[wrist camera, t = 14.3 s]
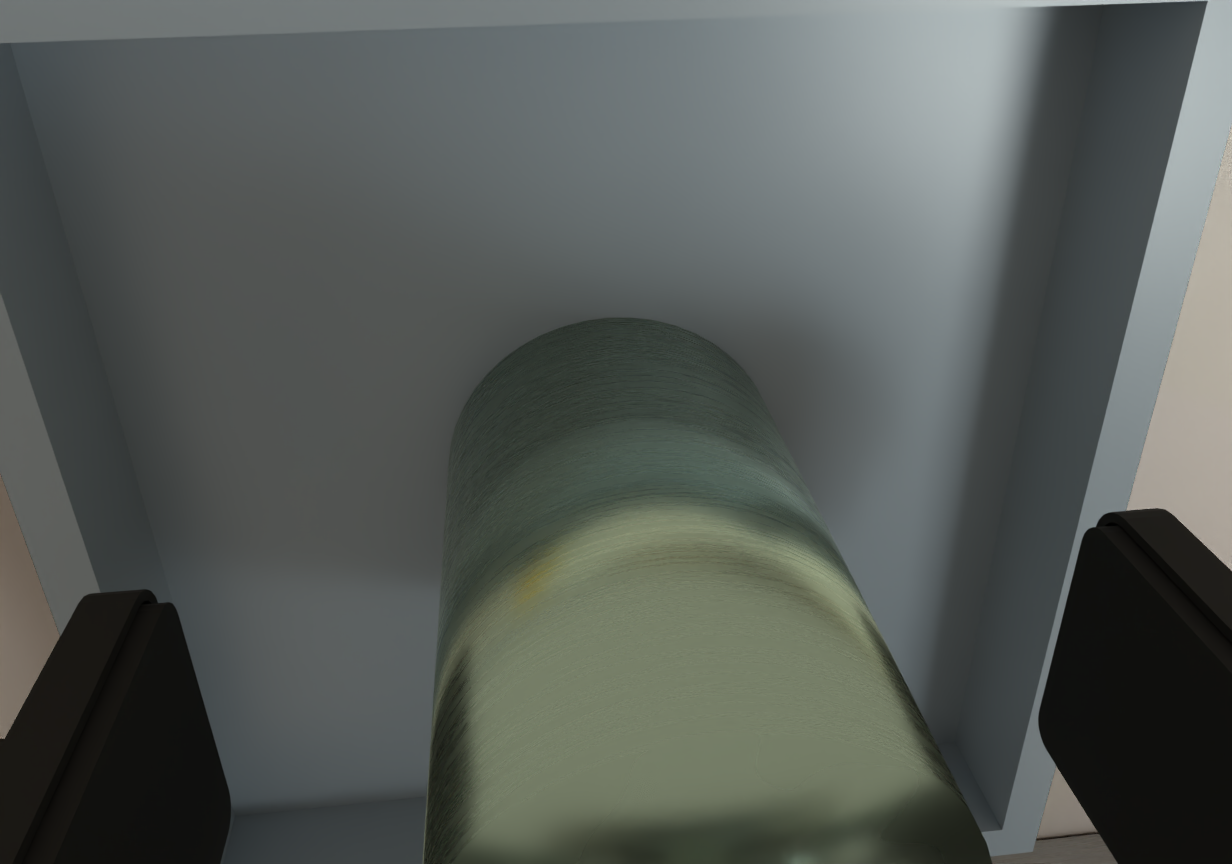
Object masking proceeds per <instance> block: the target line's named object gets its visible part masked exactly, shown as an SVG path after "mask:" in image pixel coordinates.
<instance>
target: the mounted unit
mask: <svg viewBox="0 0 1232 864" xmlns="http://www.w3.org/2000/svg"><path fill="white" fill-rule="evenodd" d="M991 860H992V864H1118V863H1117V862H1116V860H1115V859H1114V857H1113V855H1112V854H1111V852H1110V851H1109V849H1108V847H1107V846H1106V844H1105V843H1104V841H1103V839H1102V838H1101V836H1100V835H1099V834H1091V835H1082V836H1074V837H1065V838H1056V839H1047V840H1038V841H1035V845H1034V849H1033V852H1026V853H1018V854H1009V855H1000V856H991Z"/></svg>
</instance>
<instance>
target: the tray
mask: <svg viewBox="0 0 1232 864" xmlns="http://www.w3.org/2000/svg"><path fill="white" fill-rule="evenodd" d="M1231 125H1232V0H0V474H1V477H2V479H3V482H4V485H5V487H6V490H7V493H8V496H9V498H10V501H11V504H12V507H13V509H14V512H15V515H16V517H17V520H18V523H19V526H20V528H21V531H22V534H23V536H24V539H25V542H26V545H27V547H28V550H29V553H30V555H31V558H32V561H33V564H34V566H35V569H36V572H37V575H38V577H39V580H40V583H41V585H42V588H43V591H44V594H45V596H46V599H47V602H48V604H49V607H50V610H51V613H52V615H53V618H54V621H55V624H56V626H57V629H58V632H59V634H60V636H61V634H62V633H63V631H64V629H65V627H66V625H67V623H68V622H69V620H70V618H71V616H72V614H73V612H74V611H75V609H76V607H77V605H78V603H79V602H80V601H81V599H82V598H83V597H84V596H86V595H88V594H91V593H104V592H116V591H129V590H141V589H147V590H150V591H152V592H153V594H154V595H155V596H156V598H157V601H158V603H165V602H170V603H173V605H174V606H175V607H176V610H177V612H178V615H179V618H180V622H181V625H182V629H183V632H184V636H185V639H186V643H187V646H188V650H189V653H190V656H191V660H192V663H193V667H194V670H195V674H196V677H197V681H198V684H199V688H200V691H201V695H202V698H203V702H204V705H205V709H206V712H207V715H208V719H209V722H210V726H211V729H212V733H213V736H214V740H215V743H216V747H217V750H218V754H219V757H220V761H221V764H222V767H223V771H224V774H225V778H226V781H227V785H228V788H229V793H230V799H231V820H230V827H229V832H228V836H227V840H226V844H225V848H224V851H223V855H222V859H221V863H220V864H423V850H424V835H425V819H426V804H427V788H428V772H429V757H430V741H431V726H432V710H433V695H434V679H435V664H436V648H437V633H438V617H439V602H440V586H441V571H442V555H443V540H444V524H445V508H446V493H447V477H448V463H449V453H450V444H451V440H452V437H453V433H454V429H455V426H456V423H457V421H458V419H459V416H460V414H461V411H462V409H463V407H464V405H465V404H466V402H467V401H468V399H469V397H470V396H471V394H472V392H473V391H474V389H475V388H476V387H477V386H478V384H479V383H480V382H481V381H482V380H483V378H484V377H485V376H486V375H487V374H488V373H489V372H490V371H491V370H492V369H493V368H494V367H495V366H496V365H497V364H498V363H499V362H500V361H501V360H502V359H504V358H505V357H506V356H508V355H509V354H511V353H512V352H513V351H515V350H516V349H518V348H519V347H520V346H522V345H524V344H526V343H527V342H529V341H531V340H533V339H535V338H537V337H539V336H540V335H543V334H545V333H548V332H550V331H553V330H555V329H558V328H561V327H563V326H567V325H571V324H575V323H579V322H583V321H588V320H595V319H603V318H639V319H648V320H655V321H659V322H663V323H667V324H671V325H675V326H678V327H681V328H683V329H686V330H688V331H691V332H693V333H696V334H698V335H699V336H701V337H703V338H705V339H707V340H709V341H710V342H712V343H714V344H715V345H717V346H718V347H719V348H721V349H722V350H723V351H725V352H726V353H727V354H729V355H730V356H731V357H732V358H733V359H734V360H735V361H736V362H737V363H738V364H739V365H740V366H741V367H742V368H743V369H744V370H745V372H746V373H747V374H748V376H749V377H750V378H751V380H752V381H753V382H754V384H755V385H756V387H757V389H758V391H759V393H760V395H761V396H762V398H763V400H764V402H765V404H766V406H767V408H768V410H769V412H770V414H771V416H772V418H773V420H774V422H775V424H776V426H777V428H778V430H779V432H780V434H781V436H782V438H783V440H784V442H785V444H786V446H787V448H788V450H789V452H790V454H791V456H792V458H793V460H794V462H795V464H796V466H797V468H798V470H799V472H800V474H801V476H802V478H803V480H804V482H805V484H806V486H807V488H808V490H809V491H810V493H811V495H812V497H813V499H814V501H815V503H816V505H817V507H818V509H819V511H820V513H821V515H822V517H823V519H824V521H825V523H826V525H827V527H828V529H829V531H830V533H831V535H832V537H833V539H834V541H835V543H836V545H837V547H838V549H839V551H840V553H841V555H842V557H843V559H844V561H845V563H846V565H847V567H848V569H849V571H850V573H851V575H852V577H853V579H854V581H855V583H856V585H857V587H858V589H859V591H860V593H861V595H862V597H863V599H864V601H865V603H866V605H867V607H868V609H869V611H870V612H871V614H872V616H873V618H874V620H875V622H876V624H877V626H878V628H879V630H880V632H881V634H882V636H883V638H884V640H885V642H886V644H887V646H888V648H889V650H890V652H891V654H892V656H893V658H894V660H895V662H896V664H897V666H898V668H899V670H900V672H901V674H902V676H903V678H904V680H905V682H906V684H907V686H908V688H909V690H910V692H911V694H912V696H913V698H914V700H915V702H916V704H917V706H918V708H919V710H920V712H921V714H922V716H923V718H924V720H925V722H926V724H927V726H928V728H929V730H930V732H931V734H932V735H933V737H934V739H935V741H936V743H937V745H938V747H939V749H940V751H941V753H942V755H943V757H944V759H945V761H946V763H947V765H948V767H949V769H950V771H951V773H952V775H953V777H954V779H955V781H956V783H957V785H958V787H959V789H960V791H961V793H962V795H963V797H964V799H965V801H966V803H967V805H968V807H969V809H970V811H971V813H972V815H973V817H974V819H975V821H976V823H977V825H978V827H979V829H980V831H981V833H982V835H983V837H984V839H985V841H986V843H987V846H988V850H989V853H990V857H991V856H1000V855H1009V854H1018V853H1026V852H1033V849H1034V845H1035V841H1036V838H1037V834H1038V830H1039V827H1040V823H1041V819H1042V816H1043V812H1044V808H1045V805H1046V801H1047V797H1048V794H1049V790H1050V786H1051V783H1052V779H1053V776H1054V772H1055V768H1056V764H1055V763H1054V761H1053V760H1052V758H1051V756H1050V755H1049V753H1048V752H1047V750H1046V748H1045V746H1044V744H1043V742H1042V739H1041V736H1040V731H1039V726H1038V715H1039V709H1040V705H1041V701H1042V697H1043V693H1044V689H1045V685H1046V681H1047V677H1048V673H1049V669H1050V665H1051V661H1052V657H1053V653H1054V649H1055V645H1056V641H1057V637H1058V633H1059V629H1060V625H1061V621H1062V617H1063V613H1064V609H1065V605H1066V601H1067V597H1068V593H1069V589H1070V585H1071V581H1072V577H1073V573H1074V569H1075V565H1076V561H1077V557H1078V553H1079V549H1080V545H1081V541H1082V538H1083V536H1084V533H1085V532H1086V531H1087V530H1088V529H1089V528H1092V527H1096V525H1097V523H1098V520H1099V519H1100V518H1101V517H1102V516H1103V515H1104V514H1106V513H1109V512H1118V511H1126V509H1127V505H1128V501H1129V498H1130V494H1131V490H1132V487H1133V483H1134V479H1135V476H1136V472H1137V468H1138V465H1139V461H1140V458H1141V454H1142V450H1143V447H1144V443H1145V439H1146V436H1147V432H1148V428H1149V425H1150V421H1151V417H1152V414H1153V410H1154V406H1155V403H1156V399H1157V395H1158V392H1159V388H1160V384H1161V381H1162V377H1163V373H1164V370H1165V366H1166V362H1167V359H1168V355H1169V352H1170V348H1171V344H1172V341H1173V337H1174V333H1175V330H1176V326H1177V322H1178V319H1179V315H1180V311H1181V308H1182V304H1183V300H1184V297H1185V293H1186V289H1187V286H1188V282H1189V278H1190V275H1191V271H1192V267H1193V264H1194V260H1195V256H1196V253H1197V249H1198V246H1199V242H1200V238H1201V235H1202V231H1203V227H1204V224H1205V220H1206V216H1207V213H1208V209H1209V205H1210V202H1211V198H1212V194H1213V191H1214V187H1215V183H1216V180H1217V176H1218V172H1219V169H1220V165H1221V161H1222V158H1223V154H1224V150H1225V147H1226V143H1227V140H1228V136H1229V132H1230V129H1231Z"/></svg>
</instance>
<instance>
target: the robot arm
mask: <svg viewBox="0 0 1232 864" xmlns="http://www.w3.org/2000/svg"><path fill="white" fill-rule="evenodd" d="M1038 726H1039V731H1040V736H1041V739H1042V742H1043V744H1044V746H1045V748H1046V750H1047V752H1048V753H1049V755H1050V756H1051V758H1052V760H1053V761H1054V763H1055V764H1056V766H1057V768H1058V769H1059V771H1060V772H1061V774H1062V776H1063V777H1064V779H1065V780H1066V782H1067V784H1068V785H1069V787H1070V788H1071V790H1072V792H1073V793H1074V795H1075V796H1076V798H1077V799H1078V801H1079V803H1080V804H1081V806H1082V807H1083V809H1084V811H1085V812H1086V814H1087V815H1088V817H1089V819H1090V820H1091V822H1092V823H1093V825H1094V827H1095V828H1096V830H1097V831H1098V833H1099V835H1100V836H1101V838H1102V839H1103V841H1104V843H1105V844H1106V846H1107V847H1108V849H1109V851H1110V852H1111V854H1112V855H1113V857H1114V859H1115V860H1116V862H1117V863H1118V864H1232V571H1231V570H1230V569H1229V568H1228V567H1227V566H1226V565H1225V564H1224V563H1222V562H1221V561H1220V560H1219V559H1218V558H1217V557H1216V556H1215V555H1214V554H1213V553H1212V552H1211V551H1210V550H1209V549H1208V548H1207V547H1206V546H1205V545H1204V544H1203V543H1202V542H1201V541H1200V540H1199V539H1197V538H1196V537H1195V536H1194V535H1193V534H1192V533H1191V532H1190V531H1189V530H1188V529H1187V528H1186V527H1185V526H1184V525H1183V524H1182V523H1181V522H1180V521H1179V520H1178V519H1177V518H1176V517H1175V516H1174V515H1172V514H1171V513H1169V512H1168V511H1166V510H1164V509H1158V508H1156V509H1143V510H1131V511H1118V512H1109V513H1106V514H1104V515H1103V516H1102V517H1101V518H1100V519H1099V520H1098V523H1097V525H1096V527H1092V528H1089V529H1088V530H1087V531H1086V532H1085V533H1084V536H1083V538H1082V541H1081V545H1080V549H1079V553H1078V557H1077V561H1076V565H1075V569H1074V573H1073V577H1072V581H1071V585H1070V589H1069V593H1068V597H1067V601H1066V605H1065V609H1064V613H1063V617H1062V621H1061V625H1060V629H1059V633H1058V637H1057V641H1056V645H1055V649H1054V653H1053V657H1052V661H1051V665H1050V669H1049V673H1048V677H1047V681H1046V685H1045V689H1044V693H1043V697H1042V701H1041V705H1040V709H1039V715H1038ZM230 820H231V799H230V793H229V788H228V785H227V781H226V778H225V774H224V771H223V767H222V764H221V761H220V757H219V754H218V750H217V747H216V743H215V740H214V736H213V733H212V729H211V726H210V722H209V719H208V715H207V712H206V709H205V705H204V702H203V698H202V695H201V691H200V688H199V684H198V681H197V677H196V674H195V670H194V667H193V663H192V660H191V656H190V653H189V650H188V646H187V643H186V639H185V636H184V632H183V629H182V625H181V622H180V618H179V615H178V612H177V610H176V607H175V606H174V605H173V603H170V602H165V603H158V601H157V598H156V596H155V595H154V594H153V592H152V591H150V590H147V589H141V590H129V591H116V592H104V593H91V594H88V595H86V596H84V597H83V598H82V599H81V601H80V602H79V603H78V605H77V607H76V609H75V611H74V612H73V614H72V616H71V618H70V620H69V622H68V623H67V625H66V627H65V629H64V631H63V633H62V634H61V636H60V638H59V640H58V642H57V644H56V645H55V647H54V649H53V651H52V653H51V655H50V657H49V658H48V660H47V662H46V664H45V666H44V668H43V669H42V671H41V673H40V675H39V677H38V679H37V680H36V682H35V684H34V686H33V688H32V690H31V692H30V693H29V695H28V697H27V699H26V701H25V703H24V704H23V706H22V708H21V710H20V712H19V714H18V715H17V717H16V719H15V721H14V723H13V725H12V727H11V728H10V730H9V732H8V734H7V736H6V738H5V739H0V864H220V863H221V859H222V855H223V851H224V848H225V844H226V840H227V836H228V832H229V827H230Z"/></svg>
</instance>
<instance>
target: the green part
mask: <svg viewBox="0 0 1232 864" xmlns="http://www.w3.org/2000/svg"><path fill="white" fill-rule="evenodd" d="M423 864H992V860H991V857H990V853H989V850H988V846H987V843H986V841H985V839H984V837H983V835H982V833H981V831H980V829H979V827H978V825H977V823H976V821H975V819H974V817H973V815H972V813H971V811H970V809H969V807H968V805H967V803H966V801H965V799H964V797H963V795H962V793H961V791H960V789H959V787H958V785H957V783H956V781H955V779H954V777H953V775H952V773H951V771H950V769H949V767H948V765H947V763H946V761H945V759H944V757H943V755H942V753H941V751H940V749H939V747H938V745H937V743H936V741H935V739H934V737H933V735H932V734H931V732H930V730H929V728H928V726H927V724H926V722H925V720H924V718H923V716H922V714H921V712H920V710H919V708H918V706H917V704H916V702H915V700H914V698H913V696H912V694H911V692H910V690H909V688H908V686H907V684H906V682H905V680H904V678H903V676H902V674H901V672H900V670H899V668H898V666H897V664H896V662H895V660H894V658H893V656H892V654H891V652H890V650H889V648H888V646H887V644H886V642H885V640H884V638H883V636H882V634H881V632H880V630H879V628H878V626H877V624H876V622H875V620H874V618H873V616H872V614H871V612H870V611H869V609H868V607H867V605H866V603H865V601H864V599H863V597H862V595H861V593H860V591H859V589H858V587H857V585H856V583H855V581H854V579H853V577H852V575H851V573H850V571H849V569H848V567H847V565H846V563H845V561H844V559H843V557H842V555H841V553H840V551H839V549H838V547H837V545H836V543H835V541H834V539H833V537H832V535H831V533H830V531H829V529H828V527H827V525H826V523H825V521H824V519H823V517H822V515H821V513H820V511H819V509H818V507H817V505H816V503H815V501H814V499H813V497H812V495H811V493H810V491H809V490H808V488H807V486H806V484H805V482H804V480H803V478H802V476H801V474H800V472H799V470H798V468H797V466H796V464H795V462H794V460H793V458H792V456H791V454H790V452H789V450H788V448H787V446H786V444H785V442H784V440H783V438H782V436H781V434H780V432H779V430H778V428H777V426H776V424H775V422H774V420H773V418H772V416H771V414H770V412H769V410H768V408H767V406H766V404H765V402H764V400H763V398H762V396H761V395H760V393H759V391H758V389H757V387H756V385H755V384H754V382H753V381H752V380H751V378H750V377H749V376H748V374H747V373H746V372H745V370H744V369H743V368H742V367H741V366H740V365H739V364H738V363H737V362H736V361H735V360H734V359H733V358H732V357H731V356H730V355H729V354H727V353H726V352H725V351H723V350H722V349H721V348H719V347H718V346H717V345H715V344H714V343H712V342H710V341H709V340H707V339H705V338H703V337H701V336H699V335H698V334H696V333H693V332H691V331H688V330H686V329H683V328H681V327H678V326H675V325H671V324H667V323H663V322H659V321H655V320H648V319H639V318H603V319H595V320H588V321H583V322H579V323H575V324H571V325H567V326H563V327H561V328H558V329H555V330H553V331H550V332H548V333H545V334H543V335H540V336H539V337H537V338H535V339H533V340H531V341H529V342H527V343H526V344H524V345H522V346H520V347H519V348H518V349H516V350H515V351H513V352H512V353H511V354H509V355H508V356H506V357H505V358H504V359H502V360H501V361H500V362H499V363H498V364H497V365H496V366H495V367H494V368H493V369H492V370H491V371H490V372H489V373H488V374H487V375H486V376H485V377H484V378H483V380H482V381H481V382H480V383H479V384H478V386H477V387H476V388H475V389H474V391H473V392H472V394H471V396H470V397H469V399H468V401H467V402H466V404H465V405H464V407H463V409H462V411H461V414H460V416H459V419H458V421H457V423H456V426H455V429H454V433H453V437H452V440H451V444H450V453H449V463H448V477H447V493H446V508H445V524H444V540H443V555H442V571H441V586H440V602H439V617H438V633H437V648H436V664H435V679H434V695H433V710H432V726H431V741H430V757H429V772H428V788H427V804H426V819H425V835H424V850H423Z"/></svg>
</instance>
